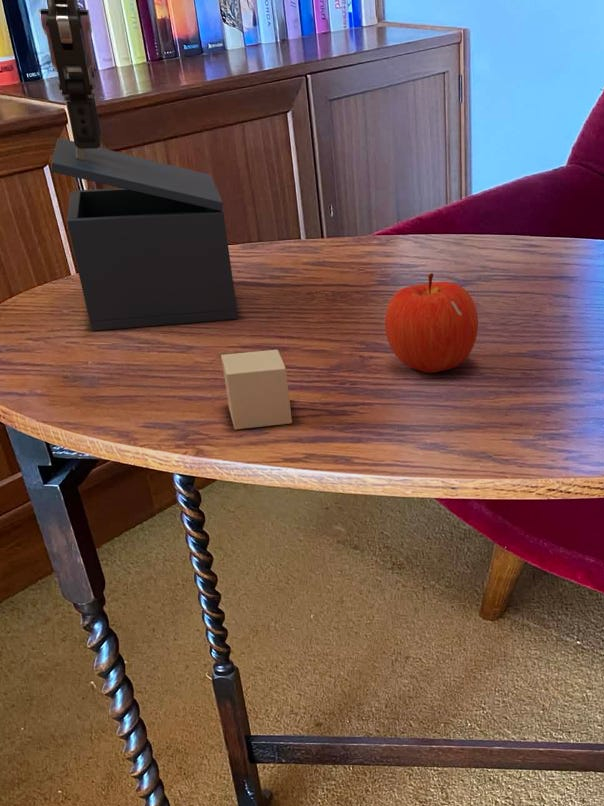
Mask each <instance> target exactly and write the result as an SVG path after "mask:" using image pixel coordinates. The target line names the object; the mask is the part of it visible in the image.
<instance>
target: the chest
mask: <svg viewBox="0 0 604 806" xmlns="http://www.w3.org/2000/svg"><path fill="white" fill-rule="evenodd" d="M66 224H67V228H68V232H69V233H68V234H69V237H70V241H71V246H72V250H73V255H74V260H75V264H76V268H77V272H78V277H79V281H80V285H81V290H82V294H83V299H84V303H85V307H86V312H87V316H88V321H89V326H90V329H91V331H92V332H97V331H108V330H110V331H111V330H121V329H130V328H133V329H134V328H141V327H142V328H143V327H156V326H168V325H169V326H170V325H179V324H190V323H191V324H192V323H204V322H215V321H227V320H238V319H239V315H238V308H237V300H236V294H235V287H234V278H233V270H232V263H231V256H230V249H229V241H228V235H227V228H226V220H225V213H224V210H223V209H222V211H219V210H214V209H210V208H206V207H201V206H197V205H193V204H188V203H184V202H180V201H175V200H171V199H167V198H162V197H158V196H154V195H149V194H145V193H141V192H136V191H132V190H128V189H123V188H119V187H115V188H98V189H97V188H96V189H95V188H93V189H77V190H71V191H70V197H69V205H68V212H67V218H66Z"/></svg>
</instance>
